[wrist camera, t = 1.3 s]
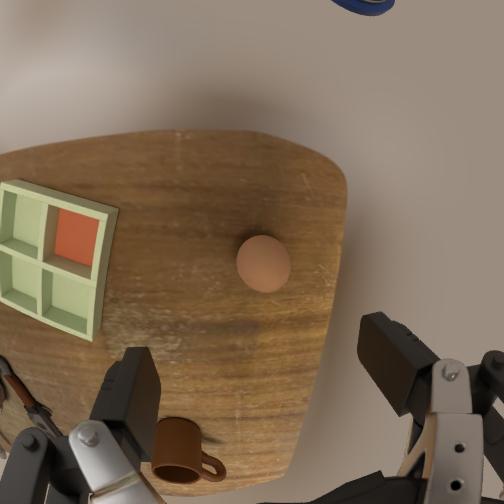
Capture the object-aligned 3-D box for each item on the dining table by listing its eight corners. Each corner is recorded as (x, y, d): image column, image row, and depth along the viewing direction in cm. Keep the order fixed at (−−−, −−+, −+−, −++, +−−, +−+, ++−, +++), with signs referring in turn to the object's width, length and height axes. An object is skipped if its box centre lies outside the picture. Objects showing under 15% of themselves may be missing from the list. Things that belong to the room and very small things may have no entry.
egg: (238, 224, 30) (247, 245, 22) (284, 232, 31) (308, 254, 23) (229, 270, 31) (235, 303, 24) (274, 276, 32) (293, 309, 25)
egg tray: (17, 179, 24) (1, 181, 21) (119, 208, 28) (108, 214, 24) (10, 289, 28) (-2, 299, 24) (100, 326, 31) (92, 341, 28)
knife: (15, 363, 29) (94, 467, 38) (21, 356, 31) (95, 460, 40) (-13, 361, 28) (63, 462, 37) (-8, 354, 30) (66, 455, 39)
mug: (232, 430, 40) (238, 476, 31) (213, 450, 41) (216, 492, 32) (163, 410, 37) (158, 458, 28) (150, 433, 38) (144, 476, 29)
